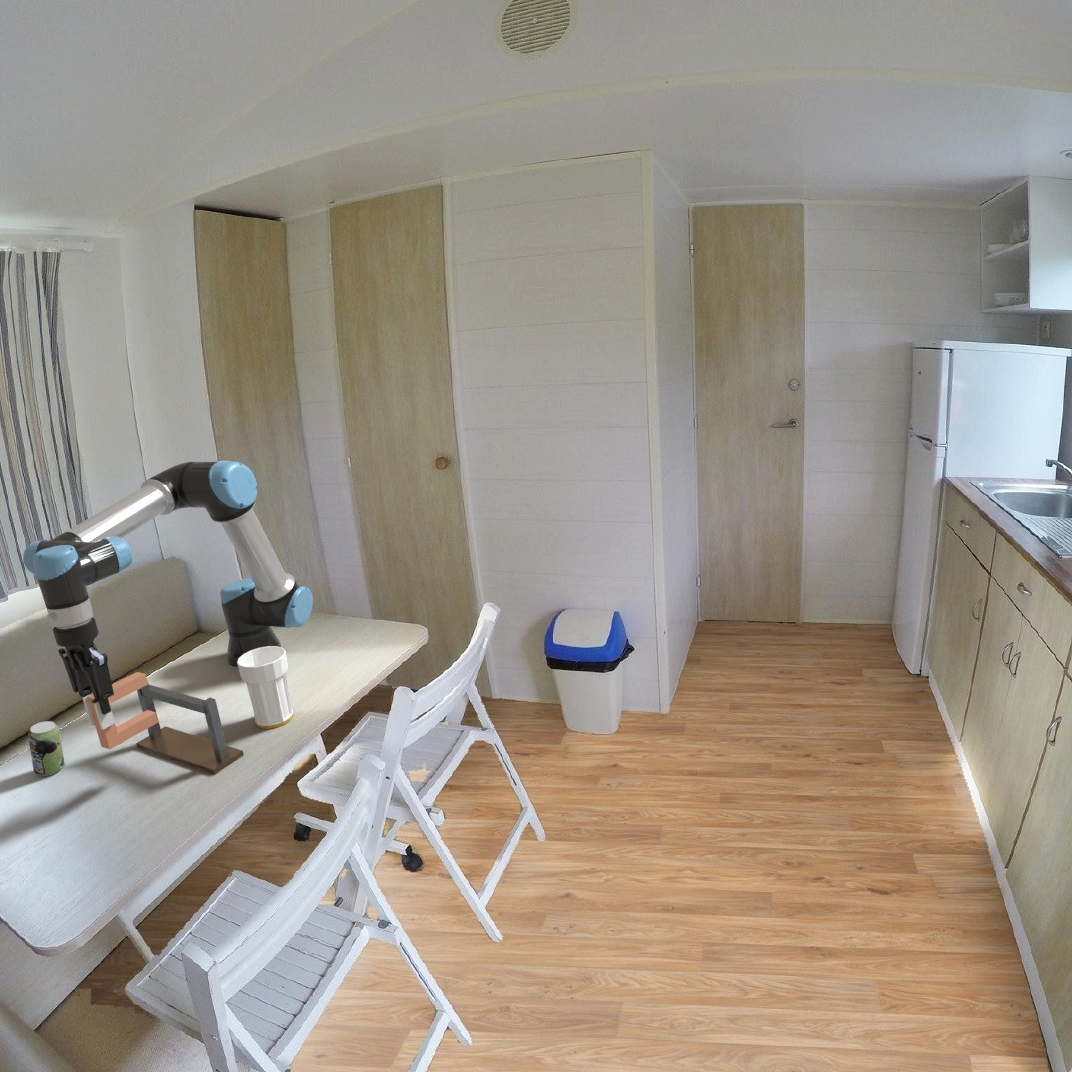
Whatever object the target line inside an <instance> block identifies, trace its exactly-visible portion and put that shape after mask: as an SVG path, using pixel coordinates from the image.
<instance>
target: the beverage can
mask: <svg viewBox="0 0 1072 1072" xmlns="http://www.w3.org/2000/svg"><path fill="white" fill-rule="evenodd" d="M60 730H61V729H60V727H59V726H58V725H57V724H56V722H54V721H51V720H45V721H40V722H36V723H35V724H33V725H32V726H31V727H30V729H29V731H28V733H27V738H28V743H29V744H28V745H29V750H30V756H31V762H32V768H33V772H34V773H35V774H36V775H38V776H43V777H45V776H51V775H54V774H56V773H58V772H60V770H62V769H63V768H64V767H65V758H64V752H63V746H62V745H63V744H62V737H61V731H60Z"/></svg>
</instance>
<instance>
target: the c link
mask: <svg viewBox="0 0 1072 1072" xmlns="http://www.w3.org/2000/svg"><path fill="white" fill-rule="evenodd" d="M148 683H149V681H148V677H147V674H146V673H144V672H139V671H136V672H134V673H132V674H130V675H128V676H126V677H123V678H122V679H119V680H117V681H116V682H113V683H112V687H113V691H114V695H113V696H111V697H109V698H108V699H109V703H110V705H111V704H114V703H115V702H117V701H118V700H121V699H123V698H124V697H127V696H128V695H130V694H133V693H134V692H137V690H138V689H140V688H142V687H144V686H146V685H148ZM87 699H88V702H89V706H90V709H91V713H92V716H93V719H94V723H95V725H94V726H95V729H96V733H97V736H98V741H99V743H100V746H101V748H105V749H108V750H110V751H111V749H114V748H115V747H117V746H119V745H121V744H123V743H124V742H126V741H128V740H130V739H131V738H133V737H135V736H136V735H138V734H140V733H142V732H144V731H146V730H148V729H147V728H149V727H151V726H153V725H155V724H156V723H158V721H159V718H158V719H157V717H158V714H157V715H156V713H157V711H156V712H153V711H149V710H146V711H144V712H143V711H142V712H141V713H139V714H138V715H134V716H133V717H132V718H129V719H128V720H126V721H125V722H122V723H120V724H118V725H116V723H115V724H113V725H111V726H109V727H107V728H106V729H104V730H102V729H101V727H100V724H99V721H98V717H97V714H96V710H95V707H94V703H92V700H94V699H95V698H94V695H93V694H91V695H89V696H87Z"/></svg>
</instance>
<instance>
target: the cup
mask: <svg viewBox="0 0 1072 1072" xmlns="http://www.w3.org/2000/svg"><path fill="white" fill-rule="evenodd" d="M237 665H238V666H237V668H238V671H239V675H240V676H239V677H240V679H241V680H242V682H243V683H245V684H246V686H247V691H248V694H249V698H250V702H251V706H252V710H253V714H254V717H255V719H254V720H255V721H254V722H255V725H256V727H257V728H260V729H265V730H266V729H267V730H271V729H276V728H280V727H282V726H285V725H286V724H287V723H289V722H290V721H291V720H292V719H293V718H294V710H293V708H292V703H291V698H290V692H289V685H288V679H287V673H288V669H289V664H288V659H287V652H286V649H284V648H283V647H282V646H281V647H277V646H267V647H261V648H257V649H254V650H251V651H249V652H247V653H245V654H243V655H242V656H241V657H240V658H238V661H237Z"/></svg>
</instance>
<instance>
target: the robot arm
mask: <svg viewBox="0 0 1072 1072" xmlns="http://www.w3.org/2000/svg"><path fill="white" fill-rule="evenodd" d="M257 486H258V483H257V479H256V477H255V475H254V473H253V471H252V470H251V469H250V468H249V467H248V466H246V465H245V464H243V463H242V462H238V461H230V460H220V461H186V462H183V463H179V464H176V465H174V466H172V467H170V468H167V469H165V470H163V471H161V472H159V473H157V474H156V475H154V476H153V475H152V477H150V478H147V480H145V481H143V482H142V483H141V485H140V487H139V489H137V490H136V491H135V492H132V493H131V494H128V495H127V496H125V497H124V498H122V499H120V500H119V501H117V502H114V503H113V504H111V505H110V506H108V507H107V508H104V509H102V510H101V511H99V512H98V513H95V515H91V516H90V517H89V518H87V519H85V520H84V521H82V522H80V523H79V524H77V525H75V526H74V527H72V528H70V529H68V530H67V531H64V532H63V533H61V534H59V535H57V536H55V537H54V538H52V539H49V540H47V539H41V540H36V541H33V542H31V543H30V544H28V546H27V547H26V548H25V549H24V551H23V556H22V560H23V564H24V567H25V569H26V570H27V571H29V573H31V574H33V575H35V578H36V579H37V580H36V581H37V584H38V585H39V589H40V592H41V595H42V599H43V601H44V606H45V608H46V611H47V615H46V618H47V619H48V620H49V622H50V624H51V626H52V627H53V628H52V633H53V637H54V639H55V642H56V644H57V645H58V646H59V647H62V648H60V649H58V654H59V655H60V658H61V659H62V661H63V665H64V667H65V671H66V673H67V676H68V679H69V683H70V685H71V688H72V691H73V692H74V693H78V695H79V696H80V697H81V698H82V702H83V704H84V709H85V711H86V715H87V718H88V722H89V725H90V726H91V727H94V726H95V723H94V719H93V716H92V713H91V709H90V706H89V702H88V699H87V696H89V695H91V694H93V695H94V698H95V699H94V700H92V703H94V707H95V710H96V714H97V717H98V721H99V724H100V727H101V729H102V730H104V729H106V728H107V727H109V726H111V725H113V724H116V720H115V717H114V714H113V710H112V707H111V704H110V703H109V699H108V698H109V697H111V696H113V695H114V691H113V687H112V684H113V683H112V679H111V673H110V669H109V665H108V660H109V659H108V655H107V653H102V654H100V653H99V652H98V647H97V646H96V644H95V642H94V640H95V639H96V638H97V637H98V635H99V630H98V625H97V621H96V619H95V618H94V617H93V616H94V615H95V614H94V609H93V606H92V603H91V599H90V596H89V593H88V589H87V587H88V586H90V585H93V584H94V583H97V582H99V581H102V580H104V579H107V578H109V577H111V576H114V575H116V574H119V573H120V572H121V571H124V570H126V569H127V568H129V567H130V566H131V565H132V562H133V559H134V554H133V551H132V548H131V546H130V544H129V543H128V542H127V541H126V540H125V539H123V538H124V537H126V536H127V535H129V534H130V533H132V532H134V531H136V530H137V529H139V528H140V527H143V525H145V524H147V523H149V522H150V521H152V520H153V519H154V518H156V517H158V516H159V515H160V516H161V515H162V516H165V515H166V516H167V515H169V514H170V513H172V512H174V511H176V510H181V509H187V508H205V510H206V512H207V513H208V515H209V517H210V519H211V520H212V521H214V522H215V523H219V524H221V526H222V527H223V530H224V531H225V533H226V535H227V536H228V539H229V540H230V542H231V544H232V546H233V549H235V552H236V553H237V555H238V557H239V559H240V561H241V562H242V564H243V566H244V568H245V569H246V572H247V574H248V575H249V577H247V578H246V577H245V578H242V579H240V580H239V579H238V580H236V581H233V582H231V583H229V584H227V585H226V586H224V587H223V588H221V590H220V593H219V596H220V603H221V607H222V611H223V615H224V619H225V625H226V627H227V628H226V629H227V632H228V644H227V651H226V657H227V661H228V664H229V665H231V666H234V667H238V665H237V661H238V658H240V657H241V656H242V655H243V654H245V653H247V652H249V651H251V650H254V649H257V648H261V647H267V646H277V647H281V648H282V646H281V645H282V644H281V641H280V639H279V638H278V636H277V635H276V633H275V631H274V630H273V628H272V627H274V628H275V627H277V628H286V629H290V628H300V627H302V626H304V625H305V624H306V623H307V621H308V620H309V618H310V616H311V613H312V611H313V604H314V602H313V601H314V599H313V593H312V592H311V590H310V589H309V587H307V586H304V585H301V586H299V585H298V583H297V581H296V579H295V577H294V576H293V575H292V574H290V573H289V572H286V571H285V570H284V568H283V566H282V564H281V562H280V559H279V558H278V556H277V554H276V552H275V550H274V548H273V545H272V544H271V541H270V540H269V538H268V536H267V534H266V533H265V531H264V528H263V527H262V525H261V523H260V520H259V518H258V517H257V514H256V513H255V511H254V507H255V505H256V499H257V496H258V489H256V487H257Z"/></svg>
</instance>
